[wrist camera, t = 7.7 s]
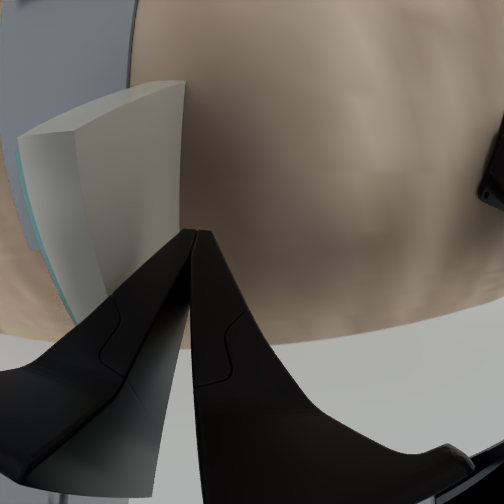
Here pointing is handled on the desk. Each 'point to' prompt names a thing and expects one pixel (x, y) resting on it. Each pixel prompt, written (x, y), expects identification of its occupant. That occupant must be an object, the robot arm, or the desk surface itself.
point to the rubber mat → (57, 68)
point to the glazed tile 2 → (104, 188)
